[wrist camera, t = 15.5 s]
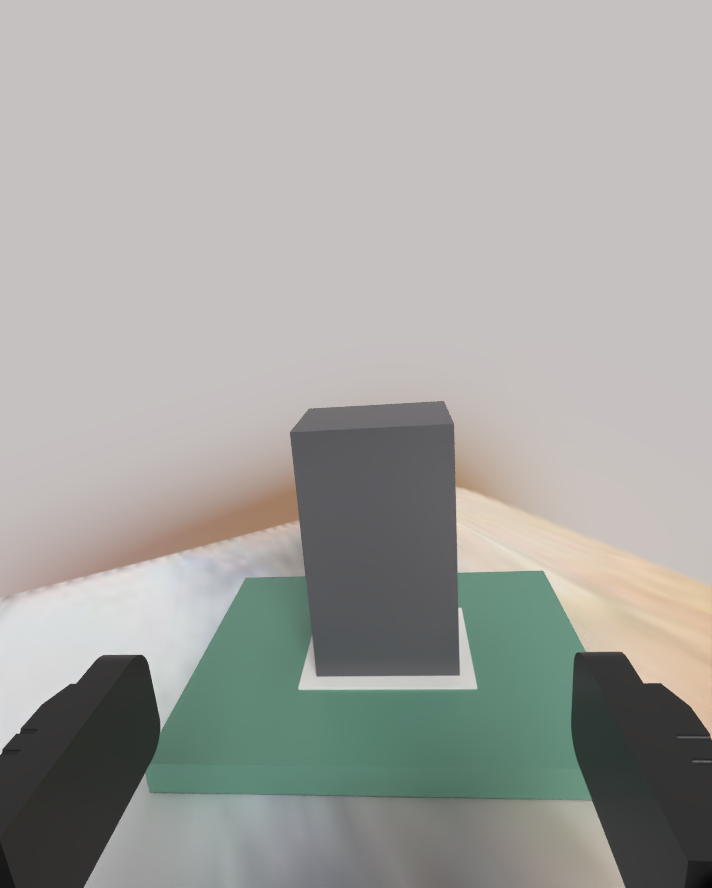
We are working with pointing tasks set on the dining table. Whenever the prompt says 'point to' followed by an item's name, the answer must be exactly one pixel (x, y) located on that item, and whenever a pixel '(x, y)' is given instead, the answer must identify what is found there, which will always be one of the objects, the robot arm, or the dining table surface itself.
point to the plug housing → (379, 538)
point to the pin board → (380, 706)
